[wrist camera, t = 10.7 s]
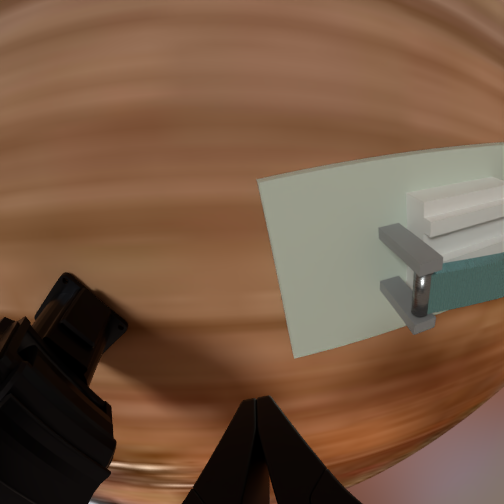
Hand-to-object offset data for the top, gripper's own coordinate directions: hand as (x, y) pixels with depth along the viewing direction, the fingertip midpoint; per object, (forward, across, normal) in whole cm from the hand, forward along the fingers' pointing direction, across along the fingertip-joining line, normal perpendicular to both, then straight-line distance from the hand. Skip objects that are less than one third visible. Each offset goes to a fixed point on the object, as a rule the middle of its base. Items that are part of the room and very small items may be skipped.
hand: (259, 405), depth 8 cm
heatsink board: (+13, +13, -3) cm, 19 cm away
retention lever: (+7, +10, -4) cm, 13 cm away
